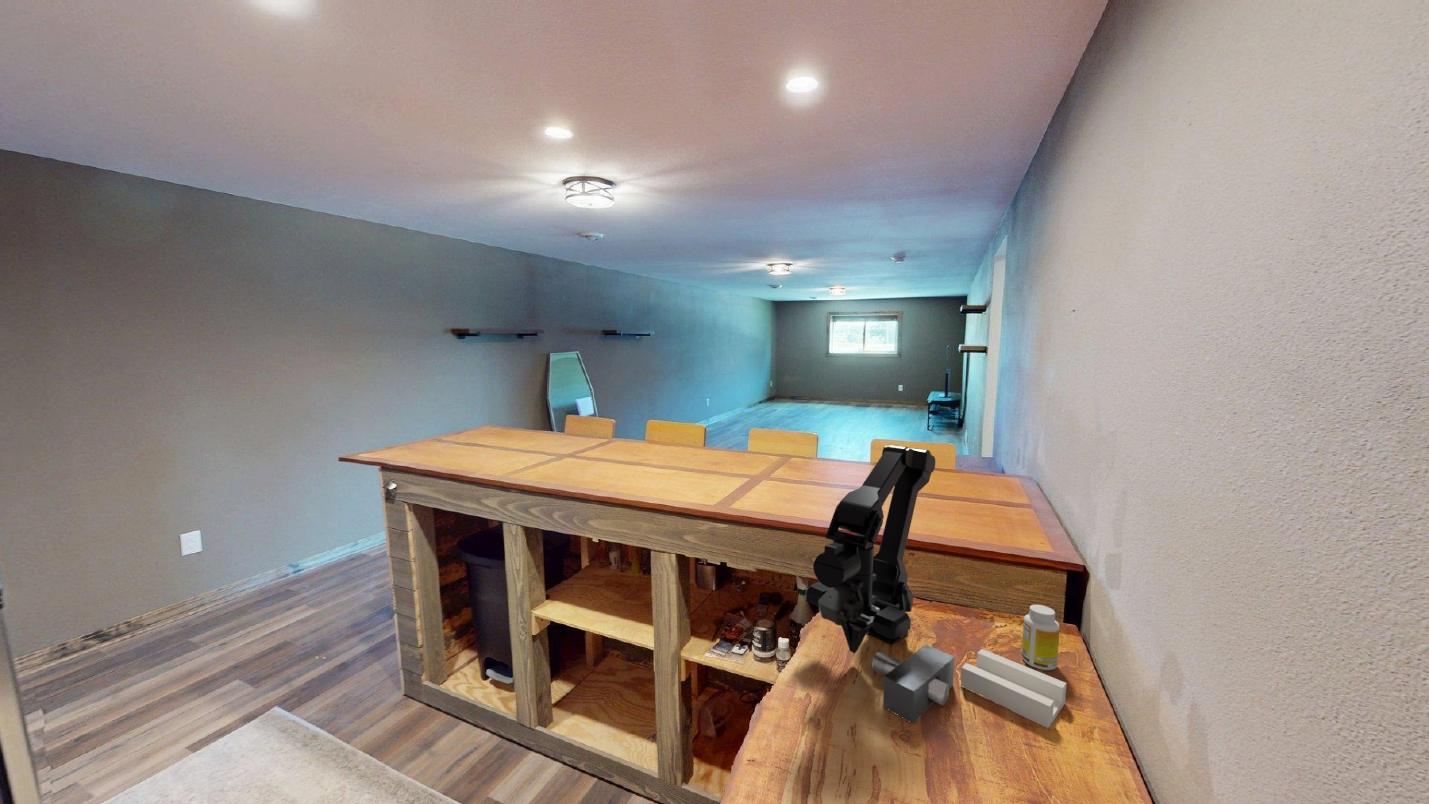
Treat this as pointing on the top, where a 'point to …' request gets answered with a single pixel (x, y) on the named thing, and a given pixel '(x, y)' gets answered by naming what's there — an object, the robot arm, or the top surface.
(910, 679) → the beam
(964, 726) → the top surface
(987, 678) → the cradle
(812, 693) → the top surface
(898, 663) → the axle
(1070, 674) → the top surface
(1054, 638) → the supplement bottle
